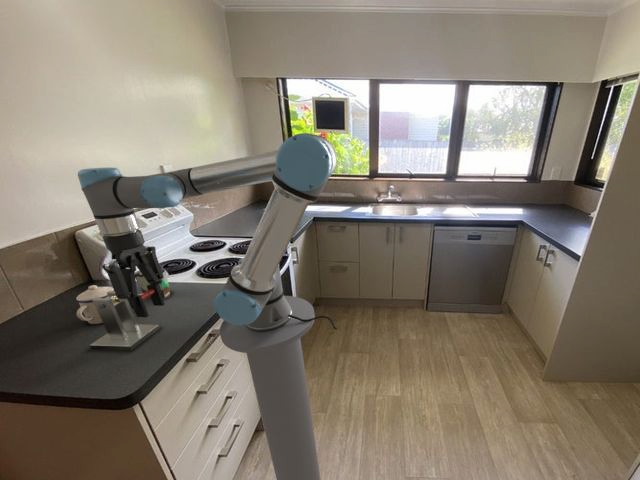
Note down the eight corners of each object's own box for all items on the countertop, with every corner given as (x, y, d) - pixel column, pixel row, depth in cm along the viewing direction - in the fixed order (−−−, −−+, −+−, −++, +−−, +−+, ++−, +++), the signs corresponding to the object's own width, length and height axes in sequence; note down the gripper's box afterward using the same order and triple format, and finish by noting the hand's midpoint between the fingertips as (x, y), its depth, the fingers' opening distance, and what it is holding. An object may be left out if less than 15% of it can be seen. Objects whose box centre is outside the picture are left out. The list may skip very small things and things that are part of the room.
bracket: (159, 328, 90) (144, 287, 84) (131, 350, 80) (112, 305, 75) (123, 327, 90) (105, 286, 85) (91, 349, 81) (69, 304, 75)
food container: (182, 291, 112) (175, 268, 108) (168, 299, 106) (160, 275, 102) (155, 288, 114) (147, 265, 110) (140, 296, 108) (131, 272, 104)
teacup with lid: (103, 309, 100) (90, 280, 95) (130, 308, 100) (118, 279, 96) (70, 331, 89) (53, 298, 84) (100, 330, 89) (85, 297, 85)
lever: (157, 294, 82) (152, 287, 81) (142, 303, 77) (138, 296, 76) (117, 300, 83) (112, 293, 82) (100, 310, 79) (95, 302, 78)
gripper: (137, 222, 81) (163, 294, 90) (69, 244, 64) (108, 330, 73) (163, 222, 80) (186, 294, 89) (100, 244, 64) (136, 330, 72)
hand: (151, 310), depth 81 cm, fingers closed on lever, 5 cm apart
